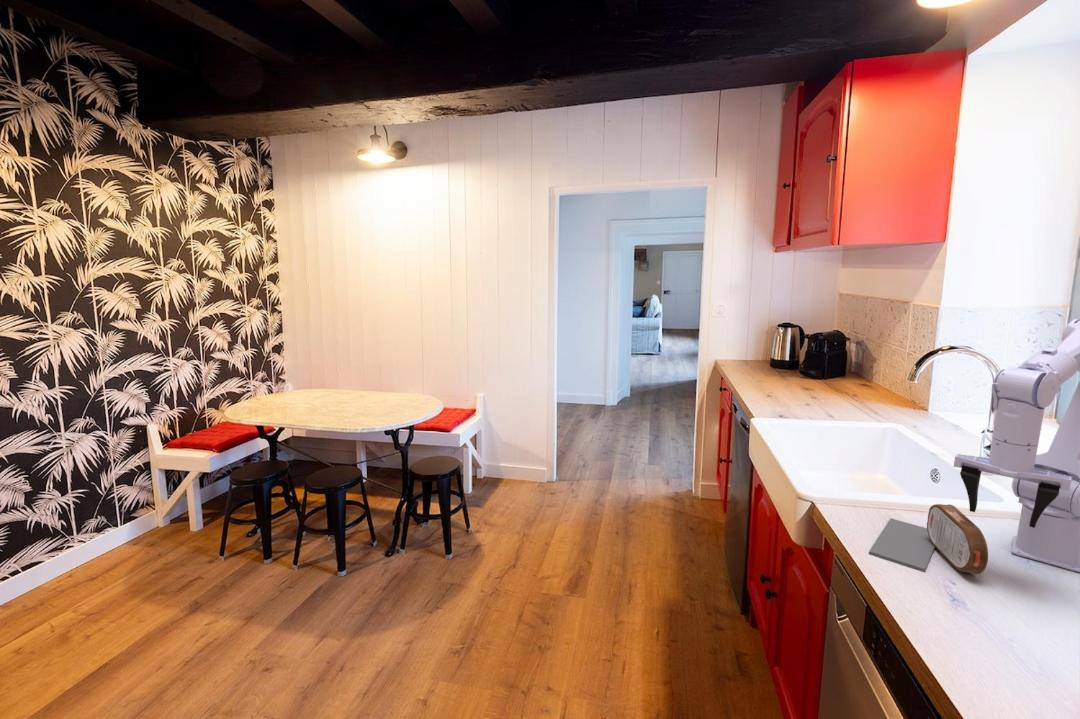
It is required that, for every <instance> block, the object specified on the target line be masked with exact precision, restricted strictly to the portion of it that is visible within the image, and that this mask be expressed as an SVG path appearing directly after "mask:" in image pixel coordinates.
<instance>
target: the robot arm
mask: <svg viewBox="0 0 1080 719" xmlns="http://www.w3.org/2000/svg"><path fill="white" fill-rule="evenodd" d="M1077 371H1078V372H1079V373H1080V318H1074V319H1072V320H1071V321H1070V322H1069V323H1067V324H1066V326H1065V328H1064V329H1063V332H1062V336H1061V342H1060V343H1059V344H1058V345H1056V347H1053V348H1052V347H1045V348H1043V349H1041V350H1039V351H1038V352H1036V353H1035V354H1034V355H1032V356H1030V357H1029V358H1028V359H1027V360H1025V361H1024V362H1022V363H1021V364H1020V365H1018V366H1017V367H1015V366H1014V367H1013V366H1009V367H1006V368H1002V369H1000V370H999V371H998V372H997V373H996V375H995V377H994V379H993V382H992V384H991V393H992V398H993V403H992V407H993V410H995V417H994V418H995V419H994V423H993V431H992V436H991V443H990V450H989V454H988V457H983V456H975V455H967V454H961V453H956V455H954V459H953V460H954V461H953V467H955V468H959V469H960V471H959V474H960V475H959V476H960V477H961V480H962V482H963V485H964V488H965V490H966V493H967V497H968V503H969V504H968V505H969V512H972V513H975V512H976V510H977V506H978V495H979V486H980V481H981V475H982V472H983V473H988V474H993V475H996V476H997V475H998V476H1001V477H1007V478H1011V479H1012V482H1011V488H1012V492H1013V494H1014V496H1015V497H1016V498H1018V503H1019V504H1021V509H1020V515H1019V522H1018V527H1017V528H1018V529H1017V534H1016V536H1015V535H1014V536H1013V540H1012V547H1011V554H1014V555H1017V556H1019V557H1020V556H1021V557H1024V558H1028V559H1031V560H1034V561H1038V562H1042V563H1046V564H1049V565H1052V566H1056V567H1060V568H1063V569H1067V570H1071V571H1075V572H1078V573H1080V380H1079V382H1078V384H1077V386H1076V388H1075V390H1074V393H1073V395H1072V398H1071V400H1070V401H1069V404H1068V406H1067V408H1066V410H1065V412H1064V414H1063V418H1062V420H1061V422H1060V424H1059V425H1058V428H1057V431H1056V433H1055V435H1054V438H1053V439H1052V442H1051V444H1050V446H1049V448H1048V451H1046V452H1043V453H1040V454H1037V453H1038V447H1039V442H1040V437H1041V431H1042V425H1043V419H1044V415H1045V413H1044V412H1045V409H1046V408H1047V407H1050V405H1051V404H1052V403H1053V401H1054V399H1055V397H1056V395H1057V394H1058V393H1059V392H1060V391H1061V390H1060V389H1061V388H1060V386H1061V385H1063V383H1066V382H1067V381H1068V380H1069V379H1070V378H1072V377H1073V376H1074V375H1076V373H1077Z"/></svg>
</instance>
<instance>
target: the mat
mask: <svg viewBox="0 0 1080 719" xmlns="http://www.w3.org/2000/svg"><path fill="white" fill-rule="evenodd" d="M935 548H936V547H935V546H934V545H933V543H932V542H931V540H930V538H929V535H928V531H927V527H923V526H920V525H917V524H912V523H910V522H905V521H904V520H899V519H895V518H892V517H891V518H889V520H888V521H887V523H886V524H885V526H884V527H883V530H881V532H880V534H879V535H878V537H877V538H876V539H875V541H874V543H873V544H872V546H871V548H870V549H869V551H868V555H871V556H875V557H878V558H880V559H883V560H884V559H885V560H886V561H887V560H888V561H890V562H893V563H897V564H899V565H902V566H905V567H908V568H912V569H915V570H917V571H920V572H923V573H924V572H926V570H927V567H928V565H929V563H930V561H931V558H932V556H933V553H934V552H935V551H934V550H935Z"/></svg>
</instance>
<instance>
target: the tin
mask: <svg viewBox="0 0 1080 719" xmlns="http://www.w3.org/2000/svg"><path fill="white" fill-rule="evenodd" d="M926 528H927V531H928V535H929V538H930V540H931V542H932V543H933V545H934V546H935V548H936V549H937V550H938V551H939V553H941V555H942V556H943V557H944V558H945V559H946V560H947V561H948V562H949V563H950V564H951V566H952V567H953V568H954V569H955V570H957V571H959V572H961V573H962V572H963V573H969V574H970V573H971V574H974V575H979V574H982V573H984V572H985V570H986V568H987V567H988V563H989V562H988V561H989V548H988V544H987V541H986V537H985V535H984V533H983V532H982V530H981V529H980V528H979V527H978V526H977V524H975V523H974V522H973V521H971V520H970V519H969V518H968V517H967V516H966V515H965V514H964V513H963V512H962V511H961V510H960V509H959V508H957V507H956V506H954V505H953V504H942V503H941V504H939V503H937V504H933V505H931V506H930V507H929V509H928V514H927V522H926Z"/></svg>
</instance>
